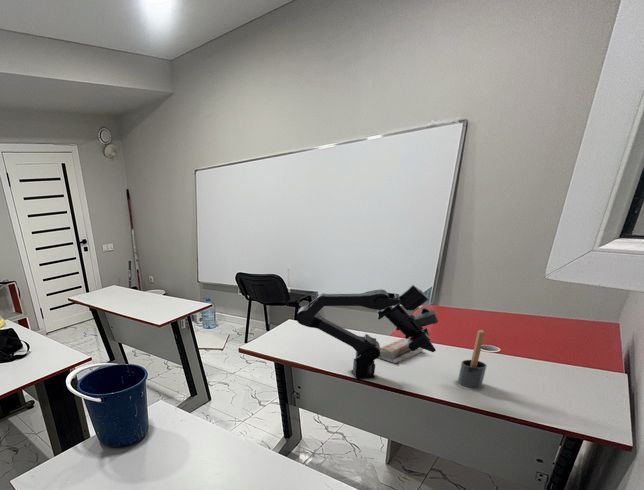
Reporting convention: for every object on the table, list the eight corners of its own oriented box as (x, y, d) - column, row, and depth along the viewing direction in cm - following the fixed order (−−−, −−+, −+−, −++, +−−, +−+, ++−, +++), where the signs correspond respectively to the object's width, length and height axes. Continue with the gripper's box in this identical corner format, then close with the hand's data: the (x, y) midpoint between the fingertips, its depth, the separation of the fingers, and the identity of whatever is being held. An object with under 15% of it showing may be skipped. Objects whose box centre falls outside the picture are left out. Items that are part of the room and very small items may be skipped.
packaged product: (397, 353, 138) (373, 346, 146) (396, 364, 140) (372, 356, 148) (425, 340, 145) (400, 334, 154) (423, 351, 147) (399, 345, 156)
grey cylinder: (465, 390, 118) (469, 368, 115) (453, 381, 124) (457, 360, 121) (486, 389, 118) (491, 367, 115) (472, 380, 123) (477, 359, 120)
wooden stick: (468, 385, 120) (479, 332, 113) (466, 381, 122) (478, 329, 115) (472, 385, 119) (484, 332, 112) (470, 382, 121) (482, 329, 114)
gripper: (426, 311, 110) (464, 347, 109) (420, 295, 125) (453, 327, 124) (393, 334, 117) (429, 367, 116) (391, 316, 132) (422, 346, 131)
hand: (434, 351), depth 122 cm, fingers closed
